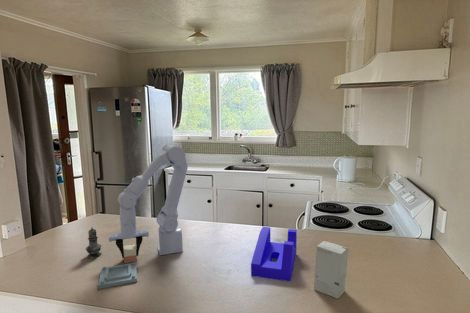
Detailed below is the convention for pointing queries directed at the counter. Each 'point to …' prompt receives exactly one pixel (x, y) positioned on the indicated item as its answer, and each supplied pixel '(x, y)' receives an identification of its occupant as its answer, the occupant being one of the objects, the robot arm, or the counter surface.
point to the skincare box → (331, 269)
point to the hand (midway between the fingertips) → (130, 256)
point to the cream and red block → (130, 253)
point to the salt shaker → (93, 245)
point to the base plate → (118, 275)
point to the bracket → (274, 256)
